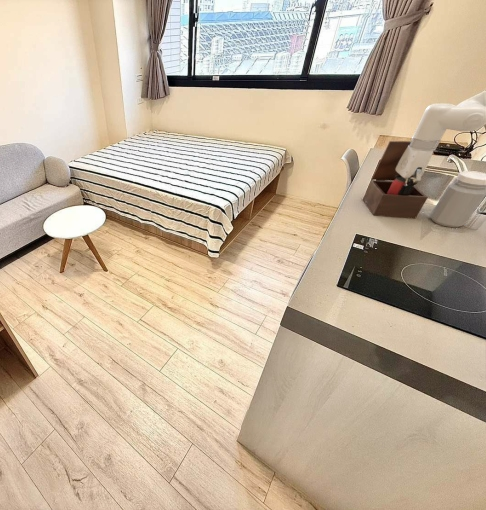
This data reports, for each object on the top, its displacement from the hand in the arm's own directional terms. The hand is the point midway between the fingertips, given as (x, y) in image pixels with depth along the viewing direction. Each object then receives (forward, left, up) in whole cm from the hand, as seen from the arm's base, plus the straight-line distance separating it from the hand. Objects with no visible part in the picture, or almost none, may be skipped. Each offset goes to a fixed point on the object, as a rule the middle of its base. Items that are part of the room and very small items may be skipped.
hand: (399, 191), depth 107 cm
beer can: (0, 0, -7) cm, 7 cm away
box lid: (0, -8, +9) cm, 12 cm away
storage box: (0, -2, -8) cm, 9 cm away
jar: (-16, +6, -9) cm, 19 cm away
